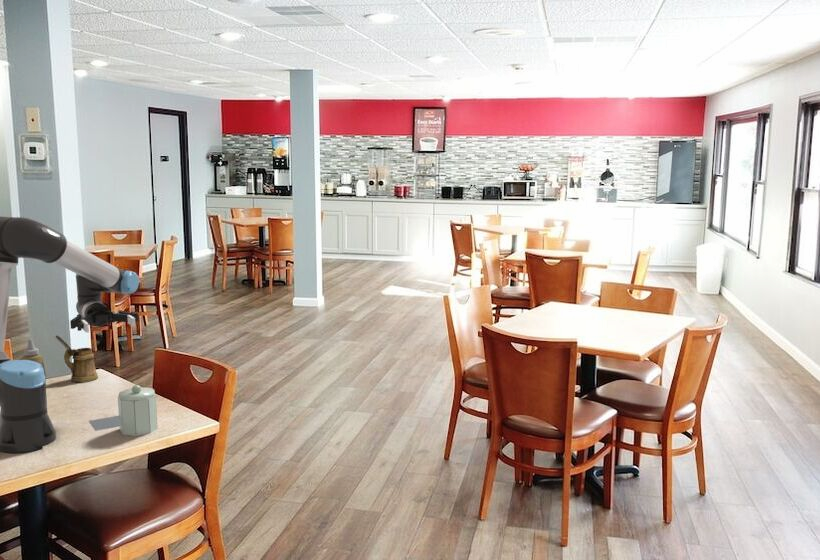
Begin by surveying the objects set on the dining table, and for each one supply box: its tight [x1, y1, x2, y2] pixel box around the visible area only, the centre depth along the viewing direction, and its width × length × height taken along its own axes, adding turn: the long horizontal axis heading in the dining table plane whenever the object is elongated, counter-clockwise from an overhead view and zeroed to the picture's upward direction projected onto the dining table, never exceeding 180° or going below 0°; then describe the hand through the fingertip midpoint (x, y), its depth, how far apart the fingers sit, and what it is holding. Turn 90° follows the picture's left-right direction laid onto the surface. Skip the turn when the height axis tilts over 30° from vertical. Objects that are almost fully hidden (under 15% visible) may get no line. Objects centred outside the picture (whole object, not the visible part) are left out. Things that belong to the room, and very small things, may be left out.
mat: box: [88, 415, 120, 431], centre depth 225 cm, size 10×10×1 cm
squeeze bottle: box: [21, 338, 47, 380], centre depth 258 cm, size 8×8×18 cm
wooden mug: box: [55, 335, 99, 383], centre depth 269 cm, size 9×14×18 cm, turn 131°
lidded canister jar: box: [117, 384, 159, 437], centre depth 218 cm, size 10×10×14 cm
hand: (111, 325), depth 225 cm, fingers open, 13 cm apart
